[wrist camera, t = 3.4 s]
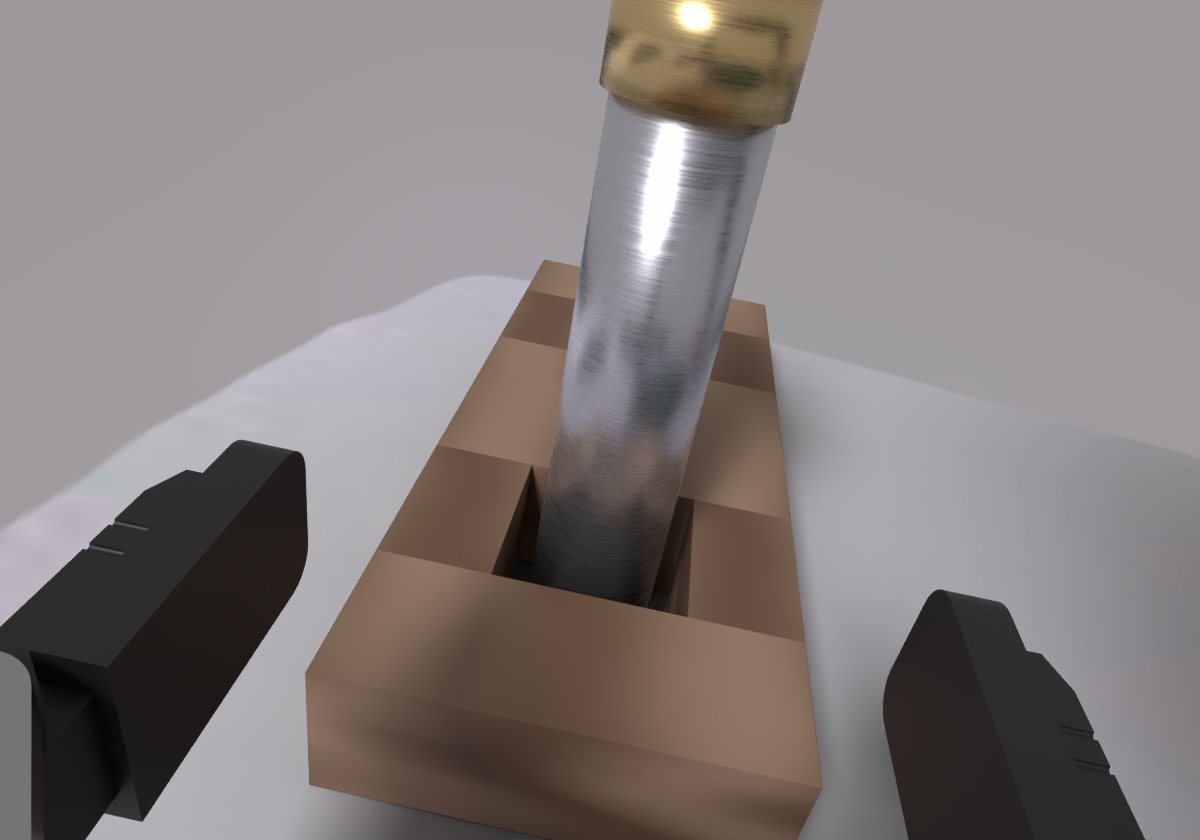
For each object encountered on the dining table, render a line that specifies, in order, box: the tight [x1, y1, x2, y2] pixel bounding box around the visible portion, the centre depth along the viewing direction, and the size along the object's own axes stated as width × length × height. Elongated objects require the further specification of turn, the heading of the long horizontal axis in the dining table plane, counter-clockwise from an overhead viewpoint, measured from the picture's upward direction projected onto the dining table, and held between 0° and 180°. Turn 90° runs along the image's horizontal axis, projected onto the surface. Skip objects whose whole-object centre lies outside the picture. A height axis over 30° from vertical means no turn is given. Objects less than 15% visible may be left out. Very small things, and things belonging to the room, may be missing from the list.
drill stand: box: [305, 260, 822, 840], centre depth 26 cm, size 10×24×4 cm, turn 172°
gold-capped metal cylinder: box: [530, 0, 823, 608], centre depth 18 cm, size 4×4×16 cm
